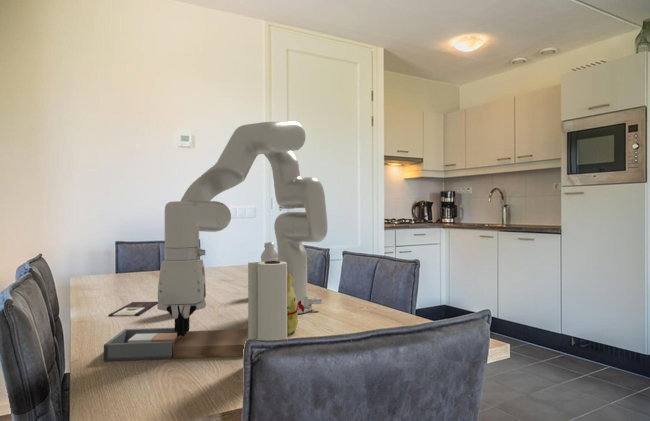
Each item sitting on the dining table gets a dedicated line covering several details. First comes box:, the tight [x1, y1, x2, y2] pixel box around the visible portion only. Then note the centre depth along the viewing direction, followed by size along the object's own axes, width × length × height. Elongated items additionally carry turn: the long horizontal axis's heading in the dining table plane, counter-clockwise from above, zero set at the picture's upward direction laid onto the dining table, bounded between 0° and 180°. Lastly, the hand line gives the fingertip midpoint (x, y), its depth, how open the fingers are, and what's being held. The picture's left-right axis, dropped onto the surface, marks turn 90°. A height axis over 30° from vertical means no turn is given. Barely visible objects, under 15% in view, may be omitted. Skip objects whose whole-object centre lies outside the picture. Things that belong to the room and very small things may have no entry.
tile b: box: [128, 333, 158, 343], centre depth 96 cm, size 5×5×2 cm
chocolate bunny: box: [287, 274, 304, 335], centre depth 112 cm, size 7×11×15 cm, turn 2°
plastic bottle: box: [260, 241, 278, 262], centre depth 159 cm, size 6×7×20 cm
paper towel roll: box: [247, 261, 288, 340], centre depth 87 cm, size 7×6×21 cm
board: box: [172, 328, 248, 360], centre depth 97 cm, size 16×12×2 cm
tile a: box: [152, 333, 181, 347], centre depth 97 cm, size 5×5×2 cm
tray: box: [103, 327, 182, 362], centre depth 96 cm, size 14×12×4 cm
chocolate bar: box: [108, 301, 158, 317], centre depth 137 cm, size 9×1×18 cm
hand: (182, 334), depth 97 cm, fingers closed
